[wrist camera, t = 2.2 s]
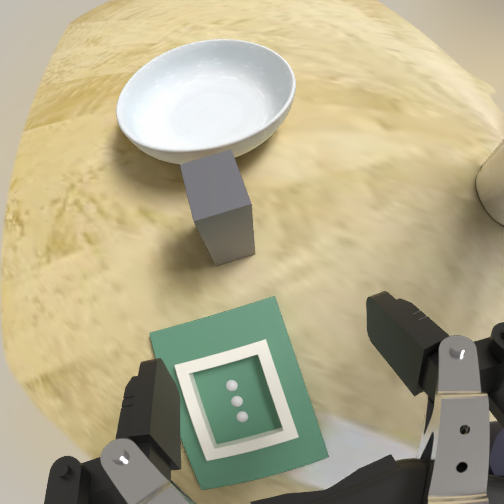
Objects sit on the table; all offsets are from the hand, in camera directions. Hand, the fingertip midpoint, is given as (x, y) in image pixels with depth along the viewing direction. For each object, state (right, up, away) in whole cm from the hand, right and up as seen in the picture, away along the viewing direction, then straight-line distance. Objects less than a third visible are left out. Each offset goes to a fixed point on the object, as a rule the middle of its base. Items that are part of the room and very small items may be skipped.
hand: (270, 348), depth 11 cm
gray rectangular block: (-3, +5, +19) cm, 20 cm away
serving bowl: (-6, +20, +25) cm, 33 cm away
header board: (-2, -10, +14) cm, 17 cm away
